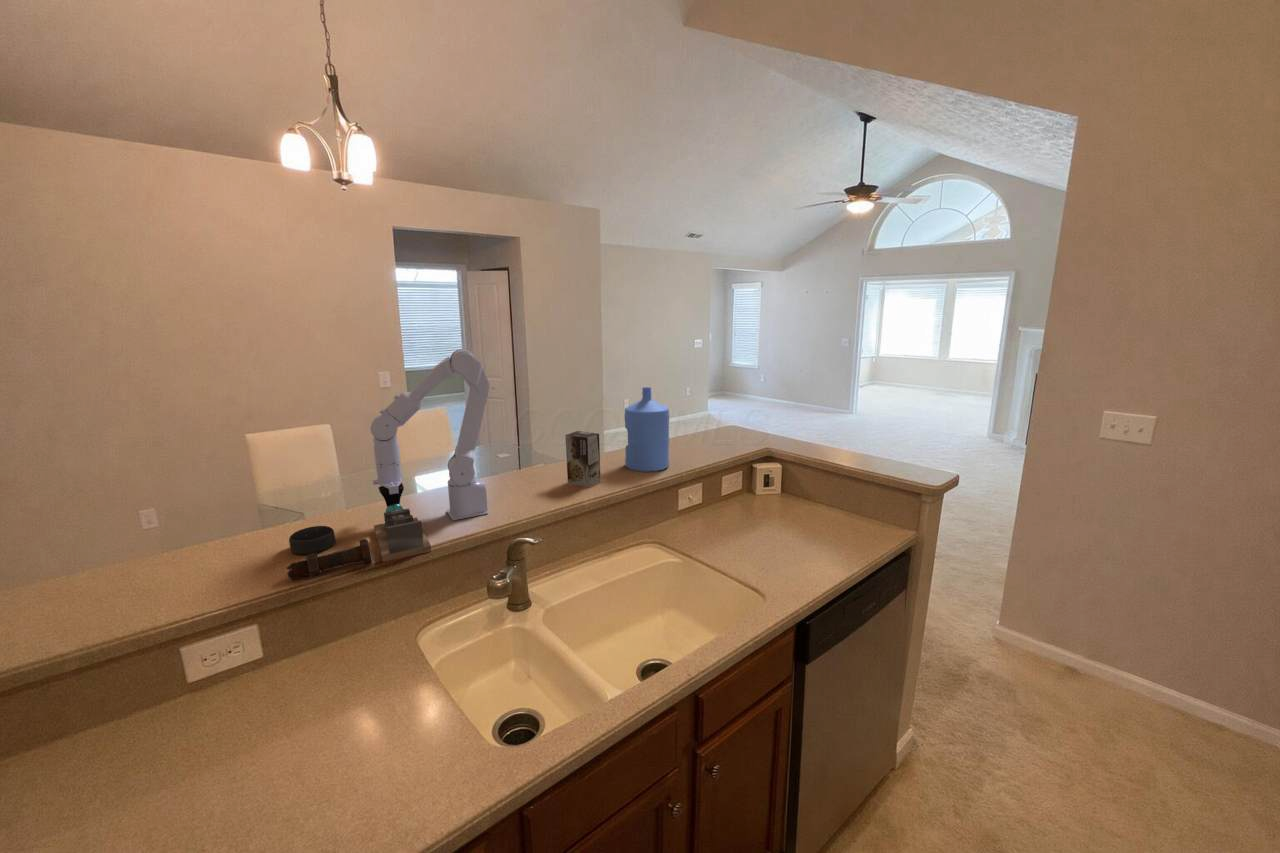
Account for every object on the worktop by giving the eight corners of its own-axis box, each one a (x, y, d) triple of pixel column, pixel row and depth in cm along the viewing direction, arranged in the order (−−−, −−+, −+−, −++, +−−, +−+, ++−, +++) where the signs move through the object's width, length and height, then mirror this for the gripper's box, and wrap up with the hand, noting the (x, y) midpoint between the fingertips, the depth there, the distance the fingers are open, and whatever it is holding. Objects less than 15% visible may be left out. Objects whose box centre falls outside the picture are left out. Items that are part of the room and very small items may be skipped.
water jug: (678, 465, 185) (678, 387, 179) (648, 475, 174) (647, 392, 168) (646, 458, 196) (645, 383, 190) (616, 466, 185) (614, 388, 179)
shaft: (386, 519, 132) (384, 504, 132) (403, 516, 134) (401, 501, 134) (393, 540, 120) (391, 524, 119) (412, 537, 122) (410, 521, 121)
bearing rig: (374, 530, 130) (371, 502, 129) (417, 522, 135) (414, 495, 134) (382, 562, 114) (379, 529, 112) (431, 551, 119) (428, 520, 117)
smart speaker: (281, 555, 118) (278, 539, 117) (310, 539, 126) (308, 523, 125) (316, 557, 116) (314, 541, 116) (344, 541, 125) (342, 525, 124)
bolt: (291, 587, 107) (371, 565, 115) (288, 585, 103) (372, 562, 111) (286, 559, 108) (366, 540, 116) (284, 556, 104) (367, 536, 112)
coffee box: (601, 482, 167) (600, 433, 164) (589, 487, 162) (587, 437, 159) (579, 477, 172) (577, 430, 169) (566, 483, 167) (564, 434, 164)
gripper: (368, 457, 136) (374, 507, 139) (373, 471, 124) (379, 525, 126) (397, 454, 139) (403, 502, 142) (405, 467, 127) (410, 519, 130)
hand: (393, 512), depth 135 cm, fingers closed
